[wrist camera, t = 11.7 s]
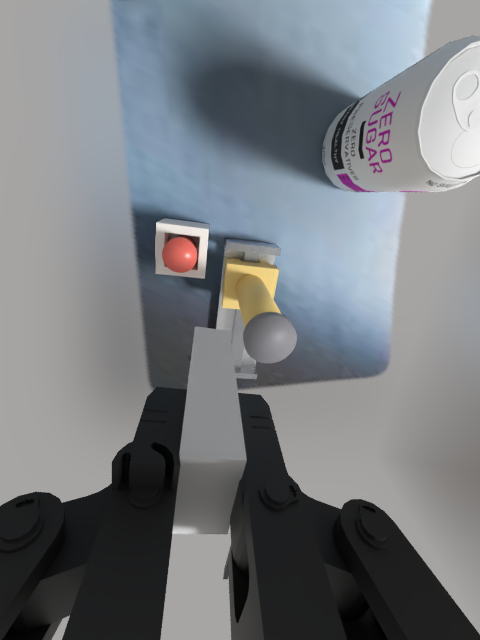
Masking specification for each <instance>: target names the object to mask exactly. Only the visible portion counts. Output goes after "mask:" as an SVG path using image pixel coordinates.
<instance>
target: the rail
mask: <svg viewBox="0 0 480 640" xmlns="http://www.w3.org/2000/svg"><path fill="white" fill-rule="evenodd" d="M280 252H281V248H280V247H278V246H277V245H276V244H270V243H262V242H254V241H246V240H238V239H230V238H226V239H225V248H224V257H223V266H222V275H221V284H220V294H219V303H218V312H217V321H216V329H219V330H228V331H230V338H231V345H232V353H233V360H234V368H235V375H236V378H247V379H256V378H257V371H256V367H255V364H256V360H254V359H253V358H251V357H250V356H249V355H248V353H247V352H246V349H245V346H244V341H243V332H244V329H245V328H244V324H243V320H242V316H241V311H240V309H230V308H222V294H223V285H224V277H225V268H226V259H227V260H231V258H237V259H240V261H244V262H253V263H260V261H263V262H269V264H270V265H274V261H275V255H276V256H280Z"/></svg>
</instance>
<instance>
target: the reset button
mask: <svg viewBox="0 0 480 640" xmlns="http://www.w3.org/2000/svg"><path fill="white" fill-rule="evenodd" d="M162 258H163V261H164V263H165V265H166V266H167V267H168V268H169V269H170V270H172V271H174V272H177V273H184V272H187V271H189V270H191V269H192V268H193V267H194V265H195V263H196V260H197V250H196V243H195V241H194V240H193V239H192V238H191V237H190V236H188V235H179V236H177V237H176V238H173V239H171V240H169V241H168V242H167V243H166V245H165V246H164V248H163V251H162Z"/></svg>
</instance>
